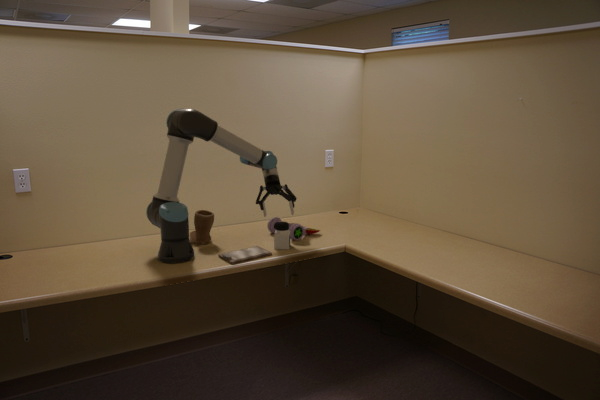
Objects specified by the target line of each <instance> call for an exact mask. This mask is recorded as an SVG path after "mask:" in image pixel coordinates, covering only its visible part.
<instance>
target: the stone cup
mask: <svg viewBox="0 0 600 400" xmlns="http://www.w3.org/2000/svg"><path fill="white" fill-rule="evenodd" d="M193 221H194V222H193V225H194V230H193V231H189V240H190V242H191V243H193V244H208V243H210V242H211V241H212V236H211V230H212V227H213V225H214V222H215V213H213V212H212V211H209V210H208V209H207V210H206V209H205V210H204V209H199V210H196V211H195V213H194V217H193Z"/></svg>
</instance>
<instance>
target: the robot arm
mask: <svg viewBox="0 0 600 400" xmlns="http://www.w3.org/2000/svg"><path fill="white" fill-rule="evenodd" d="M166 127H167V134H166V136H167V139H168V141H169V142H168V145H167V150H166V153H165V159H164V163H163V167H162V172H161V176H160V181H159V185H158V190H157V192H156V193H155V194H153V195H152V200H151V202H150V203H149V204H148V205H147V206H146V209H145V210H146V213H145V214H146V217H147V219H148V221H149V222H150V223H151V224H152V226H155V227H157V228H158V229H160V238H161V240H160V246H159V249H158V253H157V259H158V261H159V262H161V263H165V264H181V263H185V262H188V261H191V260H193V259H194V258H195V250H194V248H193V245H192V242H191V240H190V228H189V227H190V224H189V223H190V220H189V210H188V206H187V205H186V204H184V203H182V202H180V199H179V197H178V194H179V189H180V186H181V180H182V177H183V172H184V167H185V164H186V158H187V154H188V150H189V145H191V144H192V143H194V139H195V138H197V139H200V140H203V141H205V142H208V143H209V142H212V143H214V144H215V145H217V146H219V147H222V148H223V149H225V150H227V151H228V152H229V151H230V152H231V153H233V154H235V155H237V156H239V161H240V163H241V164H244V165H246V166H251V167H254V168H258V169H261V171H262V174H263V181H264V185H265V186H263V185H260V187H259V191H258V195H257V197H256V200H255V205H259V208H260V211H262V213H263V217H264V218H266V217H267V210H266V205H265V201H266V200H267V199H268V197H269V196H270V195H271V196H274V195H276V196H281V197H282V198H284V199H285V200H286V201H288V202H289V203H288V204H289V210H290V213H291V216H293V215H294V214H295V209H294V208H295V202H297V199H298V197H296V195H295V194H294V193H293V192H292V190H291V189H290V188H289V187H288V184H284V185H281V182H280V177H279V171H278V167H277V165H278V158H277V156H276V155H275V154H274V153H273V151H272V150H263V149H261V148H260V147H258V146H255V145H254V144H252V143H251V142H249V141H247V140H245V139H244V138H241V137H240V136H238V135H236V134H234V133H232V132H231V131H230V130H227V129H226V128H223V127H221V126H220V125H219V123H218V122H217V121H216V120H214V119H212V118H211V117H209V115H208V116H207V115H205V114H204V113H202V112H201V111H199V110H197V109H193V108H177V109H174V110H173V111H171V112H169V114H168V116H167V118H166ZM264 191H266V193H265V194H264V195H263V192H264ZM262 195H263V197H262Z"/></svg>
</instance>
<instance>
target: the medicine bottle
mask: <svg viewBox="0 0 600 400" xmlns="http://www.w3.org/2000/svg"><path fill="white" fill-rule="evenodd" d="M289 223H290V222H289V221H288V222H287V221H285V220H281V221H280V222H277V223H276V231H275V233H273V234H274V235H273V245H274V246H273V248H274V250H290V249H291V239H290V231H289Z"/></svg>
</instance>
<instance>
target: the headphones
mask: <svg viewBox="0 0 600 400" xmlns="http://www.w3.org/2000/svg"><path fill="white" fill-rule="evenodd" d="M280 221H282V219H281V218H280V217H279V216H276V217H271V218H270V219H269V220H268V222H267V229H268V231H269V232H270V233H271V234H275V231H276V223H277V222H280ZM288 223H289V231H290V241H300V240H301V239H302V238H303V236H306V235H313V234H317V233H319V232H320V231H321V230H320V229H315V228H311V227H306V226H303V225H302V224H300V223H297V222H296V223H295V222H288Z"/></svg>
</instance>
